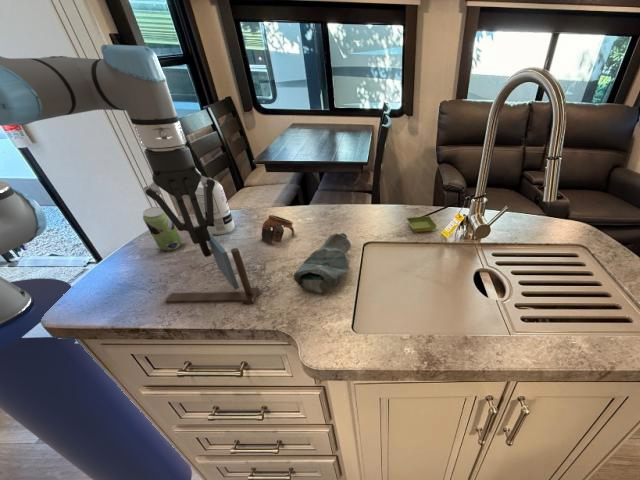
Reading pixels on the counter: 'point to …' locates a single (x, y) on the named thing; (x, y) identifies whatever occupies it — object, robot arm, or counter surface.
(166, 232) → the beverage can
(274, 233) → the brown piece
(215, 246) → the door
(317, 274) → the grey soft lump
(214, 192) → the supplement can
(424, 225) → the green square dish
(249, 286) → the brown l-shaped stand
